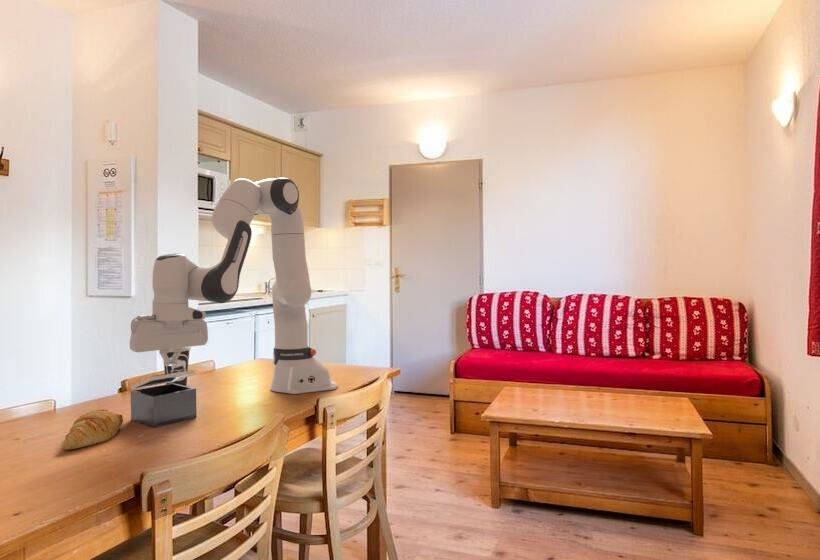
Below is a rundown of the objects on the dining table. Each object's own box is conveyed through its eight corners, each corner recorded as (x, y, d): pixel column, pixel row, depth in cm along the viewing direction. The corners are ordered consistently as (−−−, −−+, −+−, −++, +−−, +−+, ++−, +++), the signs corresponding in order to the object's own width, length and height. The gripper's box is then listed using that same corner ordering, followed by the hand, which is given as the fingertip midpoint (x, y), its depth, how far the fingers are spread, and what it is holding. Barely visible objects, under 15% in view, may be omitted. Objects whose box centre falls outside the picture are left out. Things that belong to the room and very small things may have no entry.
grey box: (131, 419, 143) (130, 390, 143) (173, 410, 153) (172, 383, 153) (153, 427, 136) (153, 396, 136) (196, 417, 146) (196, 388, 146)
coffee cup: (196, 384, 190) (195, 342, 189) (182, 390, 180) (181, 346, 180) (170, 383, 190) (170, 342, 190) (155, 389, 181) (155, 345, 181)
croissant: (77, 469, 117) (93, 437, 117) (37, 447, 117) (53, 416, 117) (129, 437, 139) (143, 410, 138) (95, 419, 139) (109, 392, 138)
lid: (130, 389, 143) (129, 383, 144) (173, 382, 153) (172, 375, 153) (152, 380, 137) (150, 373, 137) (194, 373, 146) (193, 366, 146)
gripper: (137, 316, 132) (137, 372, 132) (211, 312, 148) (211, 361, 148) (125, 315, 135) (125, 369, 136) (198, 311, 152) (198, 359, 152)
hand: (170, 365), depth 142 cm, fingers closed
